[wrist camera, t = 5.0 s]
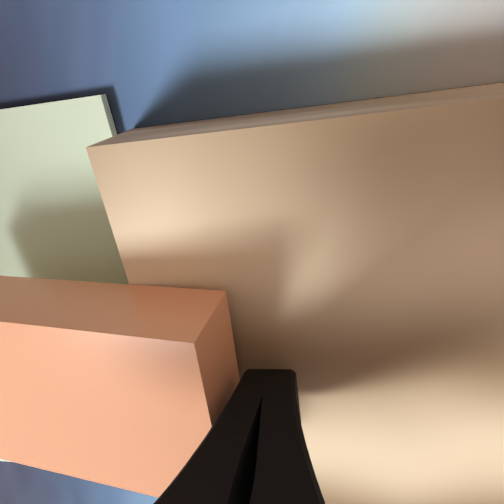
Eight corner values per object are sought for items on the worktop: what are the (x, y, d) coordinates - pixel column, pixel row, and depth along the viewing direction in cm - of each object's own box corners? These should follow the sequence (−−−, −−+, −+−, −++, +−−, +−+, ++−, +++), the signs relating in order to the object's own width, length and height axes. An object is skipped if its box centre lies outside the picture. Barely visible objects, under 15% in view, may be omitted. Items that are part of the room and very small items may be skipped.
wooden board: (517, 469, 15) (552, 541, 13) (216, 453, 17) (201, 512, 15) (619, 67, 9) (721, 72, 7) (131, 128, 11) (85, 146, 9)
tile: (250, 450, 12) (230, 515, 11) (27, 407, 15) (-18, 454, 13) (225, 290, 10) (194, 342, 8) (-41, 272, 12) (-108, 309, 10)
